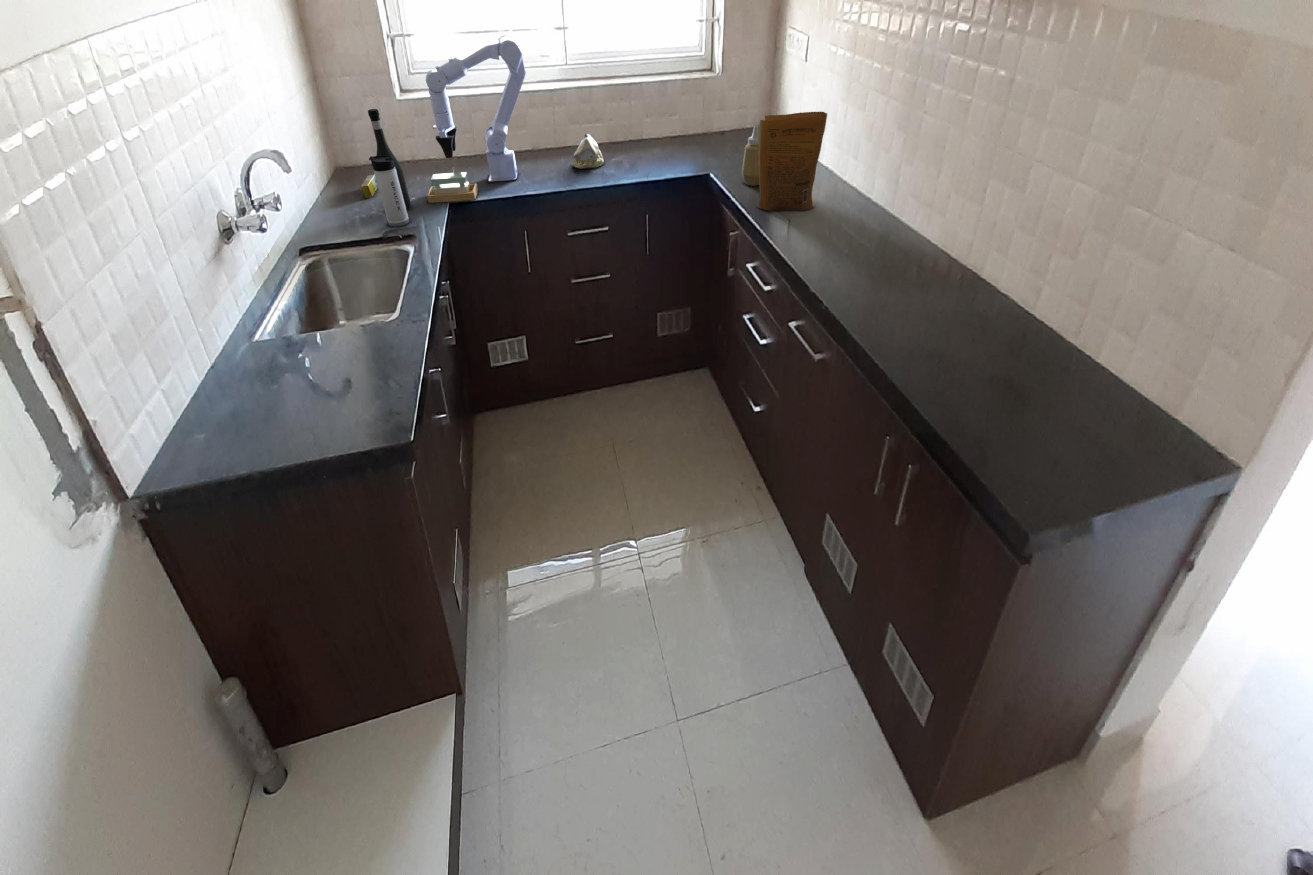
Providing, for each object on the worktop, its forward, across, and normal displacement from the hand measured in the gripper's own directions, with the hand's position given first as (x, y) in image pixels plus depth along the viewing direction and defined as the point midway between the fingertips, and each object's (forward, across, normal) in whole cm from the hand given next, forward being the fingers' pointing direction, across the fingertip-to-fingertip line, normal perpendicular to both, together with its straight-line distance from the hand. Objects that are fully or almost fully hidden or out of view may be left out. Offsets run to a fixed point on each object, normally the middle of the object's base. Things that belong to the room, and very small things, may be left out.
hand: (450, 154), depth 241 cm
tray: (+10, +13, 0) cm, 16 cm away
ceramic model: (+10, -13, +46) cm, 49 cm away
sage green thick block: (+6, +13, 0) cm, 14 cm away
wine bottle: (+10, +21, -16) cm, 28 cm away
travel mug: (+10, +33, -14) cm, 37 cm away
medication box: (+10, +3, -28) cm, 30 cm away
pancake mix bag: (+10, +44, +105) cm, 114 cm away
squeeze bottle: (+10, +20, +100) cm, 102 cm away
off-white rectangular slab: (+9, +13, 0) cm, 16 cm away
